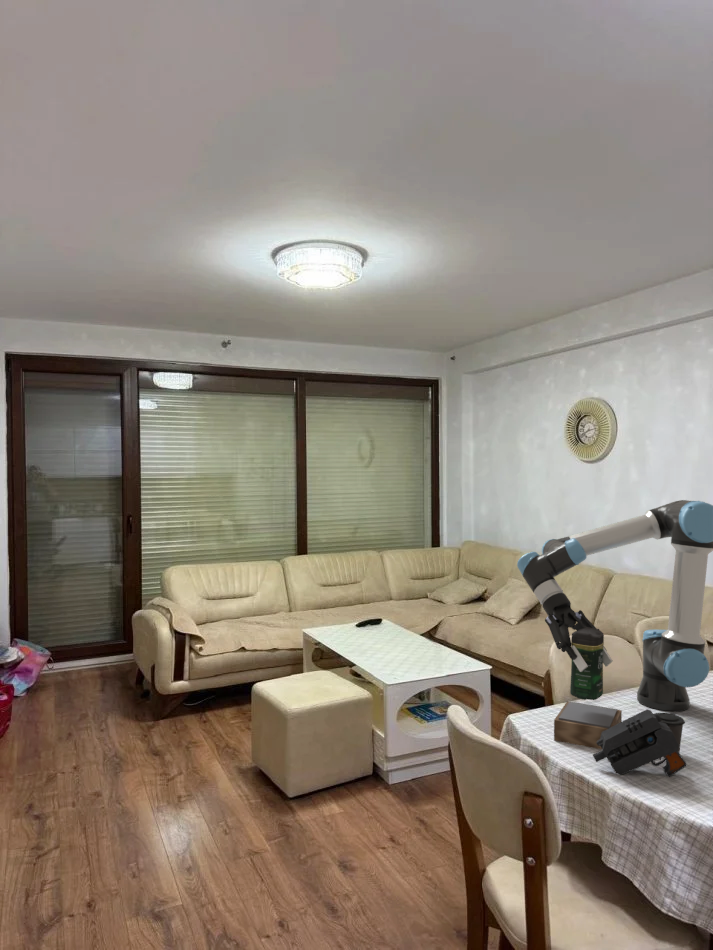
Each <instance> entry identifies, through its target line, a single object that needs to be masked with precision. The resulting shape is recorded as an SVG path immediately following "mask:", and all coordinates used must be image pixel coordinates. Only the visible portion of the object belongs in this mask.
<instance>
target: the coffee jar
mask: <svg viewBox="0 0 713 950" xmlns="http://www.w3.org/2000/svg"><path fill="white" fill-rule="evenodd" d="M604 636H605V634H604V632H602V631H601V630H600V629H599V628H597V627H596V628H590V627H585V628H582V629H579V630H574V631H573V632H572V633H571V638H570V640H571V647H572V646H573V645H574V646H575V647H576V649H577V650H578V652H579V653H580V655H581V656H582V658H583V659H584V661H585V662H586V664H587V666H588V667H587V668H586V669H584V670H583V671H582V672H580V671H579V669H578V668H577V666H576V664H575V663H574V661H573V660H572V659H571V668H570V669H571V670H570V686H569V687H570V689H569V691H570V692H569V693H570V695H571V696H572V697H574V698H577V699H579V700H584V701H585V700H589V701H590V700H592V701H596V700H598V699H600V698H601V697H602V696H603V694H604V669H603V668H604V664H603V647H605V646H604V645H605V642H604V641H605V640H604V639H605V637H604Z"/></svg>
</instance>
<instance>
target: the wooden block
mask: <svg viewBox="0 0 713 950" xmlns="http://www.w3.org/2000/svg"><path fill="white" fill-rule="evenodd" d="M622 711H623V710H620V709H617V708H613V707H612V708H611V707H606V706H600V705H599V706H598V705H595V704H594V705H593V704H587V703H582V702H581V703H580V702H577V701H566V702H565V704H564V705H563V707H562V708H561V709H560V711H559V712H558V714H557V716H556V717H555V718H554V720H553V741H556V742H561V743H565V744H570V745H571V744H572V745H576V746H582V747H586V748H587V747H588V748H593V749H596V750H600V751H602V748H601V746H598V745H597V743H596V742H597V741H598V740H600V737H601V733H602V732H603V731H605V730H607V729H609V728H611V727H613V726H615V725H617V724H619V723H621V722H623V721H622V719H623V718H622V717H623V716H622V714H623V713H622Z"/></svg>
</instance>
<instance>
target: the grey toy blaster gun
mask: <svg viewBox="0 0 713 950" xmlns="http://www.w3.org/2000/svg"><path fill="white" fill-rule="evenodd" d="M657 713H658V712H655V713H653V712H652V710H651V709H648V708H647V709H645V710H642V711H641V712H638V713H636V714H635V715H632V716H630V717H629V718H626V719H623V721H622V722H621V723H619V724H617V725H615V726H613V727H611V728H609V729H607V730H605V731H603V732H602V733H601V737H600V740H598V741H597V742H596V743H597V745H598V746H601V748H602V750H600V751H598V752H596V753H595V752H594V754H592V758H594V761H595V762H596V763H598V762H600V761H603V760H604V759H607V761H608V762H609V763H610V766H611V767H612V769H613V771H614V772H615V774H617V775H619V776H622V775H625V774H626V773H629V772H632V771H634V770H636V769H639V768H640V767H643V766H645V765H648V764H652V766H655V767H659V766H662V765H663V764H664V763H665V765H664V766H662V769H663V771H664V773H665V774H666V776H667V777H668V778H671V777H672V776H674V775H675V774H676V773H678V772H679V771H681V770H682V769H684V768H685V767H687V762H686V761H685V759H684V758H683V757H682V755H681V754H680V752H679V753H678V752H677V751H678V748H679V744H678V742H677V740H676V738H675V737H674V735H673V733H672V731H671V730H670V728H669V727H668V726H667V724H666V723H663V722H660V721H661V719H660V717H659V715H658V714H657ZM662 758H664V759H662ZM658 760H659V762H655V761H658Z"/></svg>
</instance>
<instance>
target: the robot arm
mask: <svg viewBox="0 0 713 950" xmlns="http://www.w3.org/2000/svg"><path fill="white" fill-rule="evenodd" d="M652 538H653V539H655V540H662V539H664V538H671V539H670V544H671V546H672V547H673V548H674V549H675V554H674V563H673V564H674V566H673V575H672V577H673V578H672V584H671V585H672V587H671V596H670V603H669V604H670V605H669V614H668V624H667V629H647V630H645V631H643V633H642V634H643V636H642V639H641V640H642V678H641V680H640V684H639V686H638V689H637V691H636V692H637V693H636V700H638V701H639V702H640V704H641V705H643V706H645V707H648V708H651V709H655V710H662V711H670V712H678V711H679V712H680V711H685V710H688V709H690V707H691V706H690V705H691V704H690V702H691V701H690V696H689V693H688V691H687V688H693V687H696V686H699V685H700V684H701V683H703V682H704V681H705V680H706V679H707V677H708V676H709V672H710V664H709V660H708V659H707V657H706V655H705V645H706V641H705V640H704V638H703V637H702V636H701V629H702V628H701V626H702V617H703V607H704V598H705V588H706V578H707V568H708V558H709V554H710V553H712V552H713V504H710V503H709V502H705V501H701V500H687V499H680V500H674V501H672V502H669V503H667V504H664V505H661V506H658V507H656V508H652V509H648V510H646V511H645V513H644V514H642V515H639V516H636V517H632V518H628V519H624V520H621V521H617V522H615V523H611V524H607V525H603V526H601V527H596V528H593V529H588V530H586V531H582V532H579V533H575V534H572V535H568V536H564V537H560V538H558V539H557V538H556V539H555V538H552V539H548V540H547V541H545V542H544V543H543V545H542V546H541V547H542V548H541V555H540V554H538V552H536V551H531V552H526V553H525V554H523V555H522V556H521V557H519V559H518V561H517V564H516V566H517V569H518V570H519V572H520V573H521V576H522V577H523V579H524V581H525V582H526V583H527V586H529V588H530V590H531V591H532V592H533V594H534V595H535V597H536V599H537V600H538V602H539V603H540V605H542V608H543V610H544V611H545V613H546V614H547V617H546V618H545V619H544V623H546V625H547V626H548V628H549V630H550V634H551V636H552V638H553V641H554V644H555V646H556V648H557V649H558V650H561V652H562V653H565V652H566V654H567V655H568V657H569V658H570V660H571V661H572V660H573V661H574V663H575V664H576V666H577V668H578V669H579V671H580V672H582V671H583V670H584V669H586V668H587V667H588V666H587V664H586V662H585V661H584V659H583V658H582V656H581V655H580V653H579V652H578V650H577V649H576V647H575V646H574V645H573V646H572V645H571V642H572V641H571V636H570V630H569V628H571V629H572V630H573V631H577V630H579V629H582V628H585V627H590V628H596V629H597V627H596V626H595V625H594V624H593V623H592V622H591V621H590V620H589V619H588V617H586V615H585V613H584V612H583V611H582V610H581V609H580V610H579V611H574V610H573V609H572V606H571V605H572V602H571V601H570V599H569V598H568V596H567V595H566V593H564V591H563V588H562V587H561V585H559V583H558V581H557V580H556V578H555V577H557V576H559V575H560V574H563V573H564V572H566V571H569V570H570V569H572V568H574V567H575V566H576V567H577V566H579V565H580V564H581V563H583V562H584V561H586V560H587V557H588V556H590V555H591V556H592V555H593V554H598V553H601V552H605V551H609V550H612V549H616V548H620V547H623V546H627V545H631V544H634V543H637V542H642V541H645V540H649V539H652ZM612 662H614V661H613V658H612V656H610V654H609V652H608V650H607V649H606V647H605V646H604V647H603V666H605V667H608V666H609V665H610V664H611V663H612ZM638 701H637V702H638ZM639 702H638V703H639Z"/></svg>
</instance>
